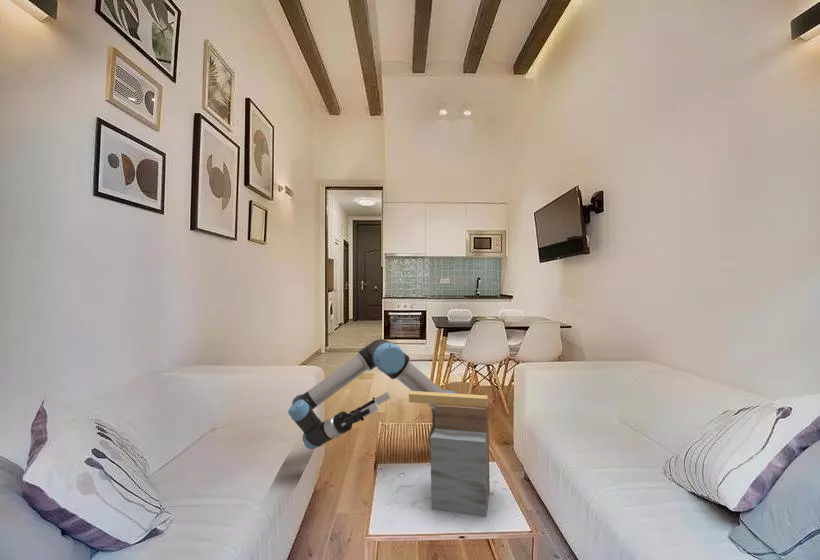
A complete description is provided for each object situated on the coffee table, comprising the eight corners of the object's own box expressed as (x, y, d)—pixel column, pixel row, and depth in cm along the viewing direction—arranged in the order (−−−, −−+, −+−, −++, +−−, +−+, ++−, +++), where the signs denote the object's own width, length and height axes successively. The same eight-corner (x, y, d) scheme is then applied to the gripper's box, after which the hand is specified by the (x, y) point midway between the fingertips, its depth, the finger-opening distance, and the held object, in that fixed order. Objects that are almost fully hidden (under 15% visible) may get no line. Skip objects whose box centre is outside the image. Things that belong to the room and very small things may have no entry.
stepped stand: (440, 484, 149) (438, 399, 149) (489, 490, 145) (488, 402, 144) (431, 509, 134) (429, 413, 134) (486, 516, 129) (484, 417, 129)
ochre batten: (411, 398, 150) (411, 390, 150) (488, 403, 142) (487, 395, 142) (408, 402, 146) (408, 393, 146) (487, 407, 139) (486, 398, 138)
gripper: (356, 421, 167) (398, 399, 162) (328, 446, 142) (377, 420, 138) (347, 405, 167) (388, 382, 163) (318, 427, 143) (366, 401, 139)
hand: (383, 400), depth 150 cm, fingers open, 13 cm apart
